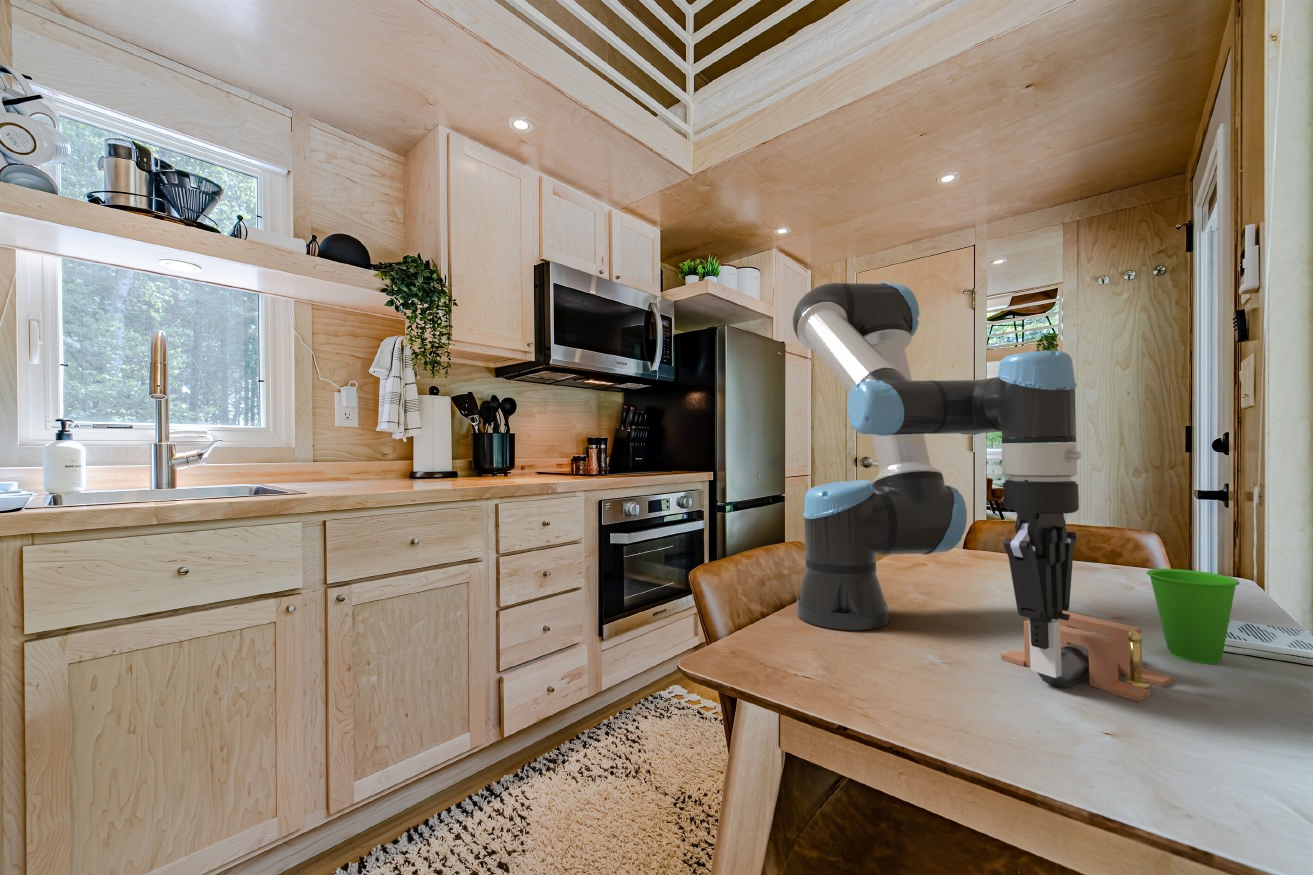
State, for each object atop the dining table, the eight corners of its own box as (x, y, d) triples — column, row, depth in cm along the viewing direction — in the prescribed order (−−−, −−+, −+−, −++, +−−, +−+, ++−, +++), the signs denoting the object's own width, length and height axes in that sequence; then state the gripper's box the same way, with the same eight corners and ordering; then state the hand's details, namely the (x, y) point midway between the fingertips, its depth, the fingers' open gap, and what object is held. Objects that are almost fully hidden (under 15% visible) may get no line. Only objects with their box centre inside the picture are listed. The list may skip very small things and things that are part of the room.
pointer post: (1119, 683, 66) (1117, 630, 66) (1128, 679, 67) (1125, 626, 67) (1144, 691, 63) (1142, 636, 64) (1153, 686, 65) (1150, 632, 65)
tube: (1069, 690, 64) (1068, 660, 64) (1035, 679, 67) (1034, 650, 67) (1127, 662, 72) (1126, 635, 72) (1094, 653, 75) (1093, 627, 75)
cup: (1264, 672, 68) (1260, 585, 68) (1180, 667, 70) (1176, 582, 70) (1206, 646, 77) (1203, 569, 77) (1133, 642, 79) (1131, 567, 79)
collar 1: (1001, 659, 74) (999, 616, 74) (1013, 654, 75) (1012, 612, 75) (1138, 701, 61) (1136, 650, 61) (1150, 695, 62) (1148, 645, 63)
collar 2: (1027, 648, 77) (1026, 608, 77) (1039, 644, 79) (1037, 604, 79) (1162, 687, 64) (1161, 638, 65) (1173, 681, 66) (1171, 633, 66)
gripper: (1047, 482, 59) (1055, 698, 59) (1099, 477, 66) (1107, 671, 65) (978, 479, 66) (984, 673, 65) (1032, 475, 72) (1038, 651, 72)
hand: (1046, 672), depth 65 cm, fingers closed
